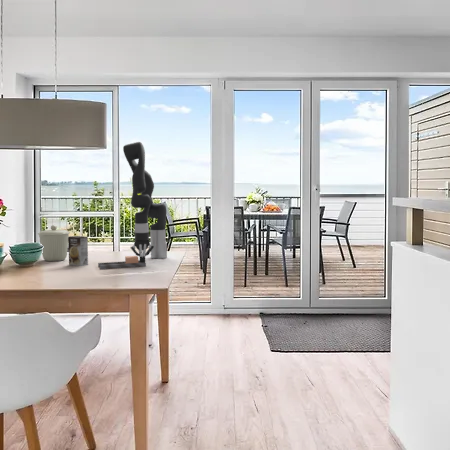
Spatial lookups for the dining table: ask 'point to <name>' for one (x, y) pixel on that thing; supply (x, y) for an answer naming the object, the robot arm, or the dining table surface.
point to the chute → (120, 265)
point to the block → (131, 259)
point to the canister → (54, 244)
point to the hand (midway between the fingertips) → (142, 263)
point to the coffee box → (78, 250)
